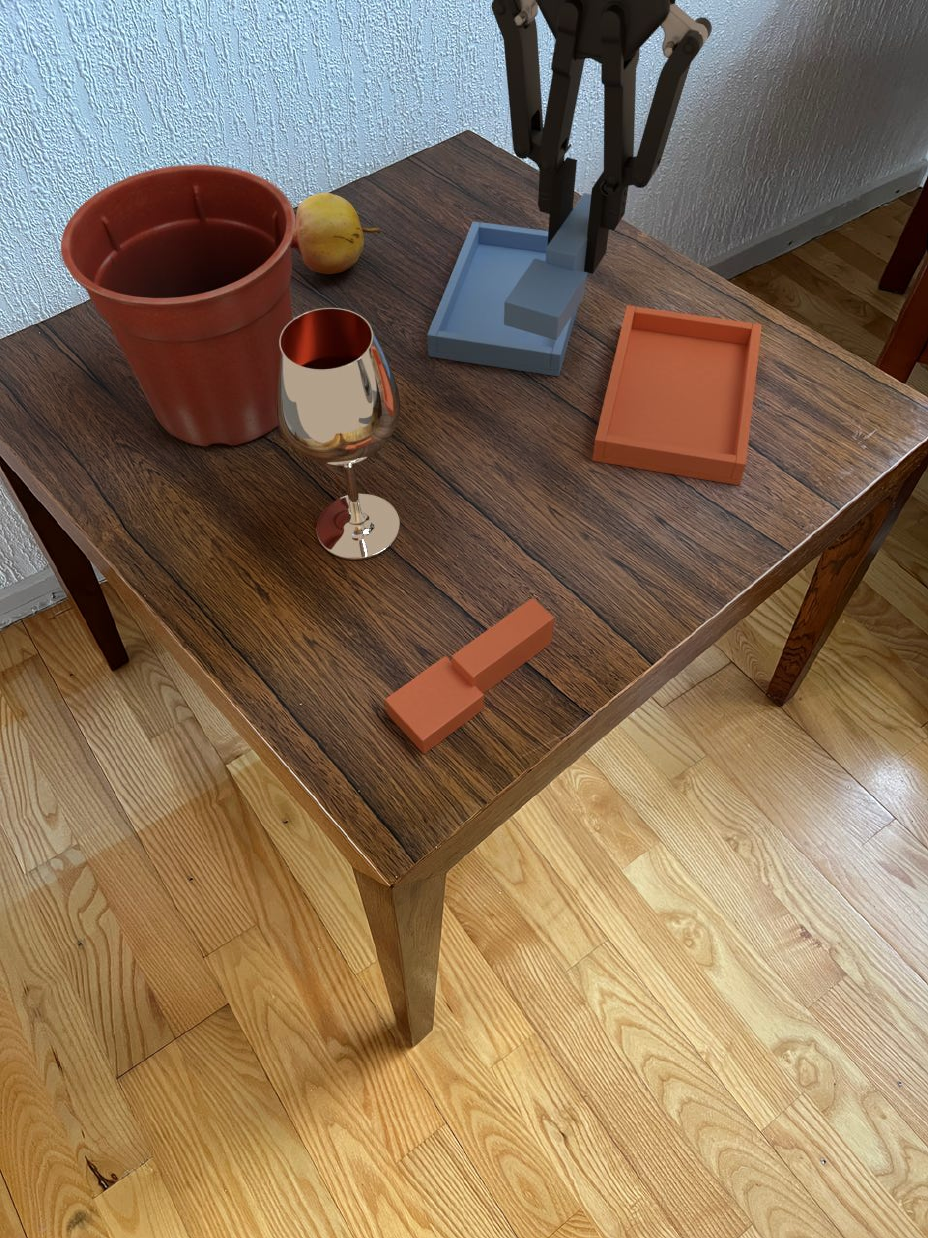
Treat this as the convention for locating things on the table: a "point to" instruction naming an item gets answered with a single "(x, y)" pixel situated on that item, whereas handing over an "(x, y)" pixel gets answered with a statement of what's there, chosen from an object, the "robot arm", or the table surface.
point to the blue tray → (493, 304)
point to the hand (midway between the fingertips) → (576, 256)
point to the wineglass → (339, 419)
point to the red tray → (680, 395)
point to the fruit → (328, 233)
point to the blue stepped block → (553, 280)
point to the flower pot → (192, 291)
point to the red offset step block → (468, 676)
